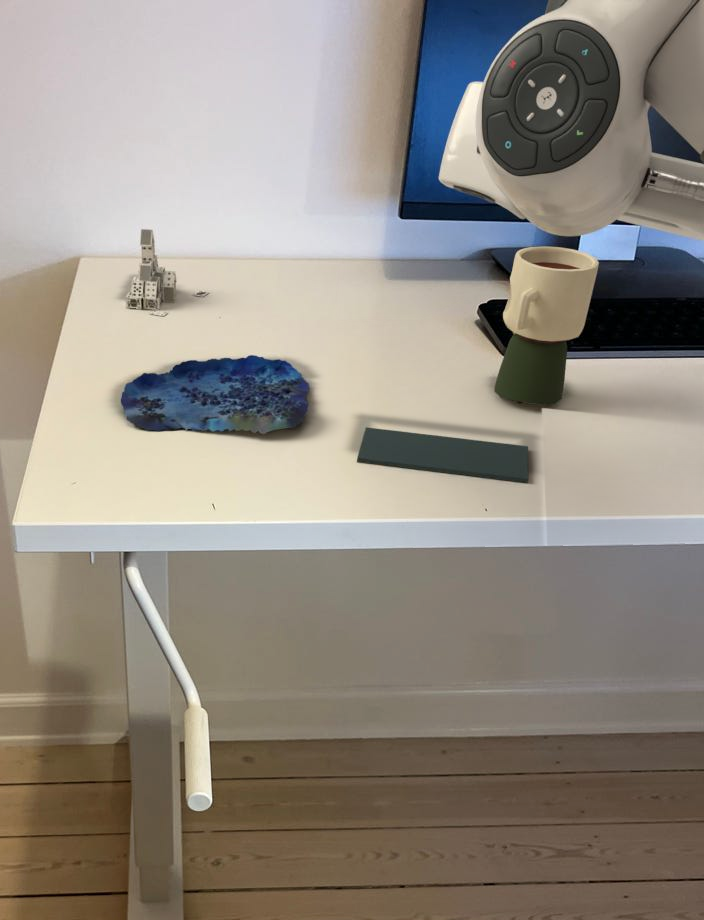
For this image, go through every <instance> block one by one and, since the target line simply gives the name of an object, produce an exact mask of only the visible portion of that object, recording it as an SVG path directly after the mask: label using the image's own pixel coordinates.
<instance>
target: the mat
mask: <svg viewBox="0 0 704 920" xmlns="http://www.w3.org/2000/svg"><path fill="white" fill-rule="evenodd" d="M356 463H363V464H372V465H380V466H389V467H395V468H403V469H410V470H411V469H412V470H418V471H419V470H420V471H428V472H437V473H444V474H453V475H460V476H461V475H462V476H470V477H475V478H476V477H478V478H486V479H492V480H493V479H494V480H501V481H509V482H518V483H525V484H528V482H529V446H528V445H521V444H520V445H519V444H512V443H505V442H504V443H503V442H495V441H487V440H480V439H479V440H477V439H471V438H470V439H469V438H460V437H453V436H444V435H435V434H427V433H418V432H410V431H401V430H392V429H385V428H375V427H368V426H367V427H365V429H364V432H363V436H362V440H361V442H360V447H359V450H358V454H357V458H356Z"/></svg>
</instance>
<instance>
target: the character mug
mask: <svg viewBox="0 0 704 920" xmlns="http://www.w3.org/2000/svg"><path fill="white" fill-rule="evenodd" d="M513 259H514V260H513V265H512V271H511V274H510V276H509V283H510V286H509V287H510V290H509V293H508V299H507V302H506V305H505V308H504V310H503V312H502V318H503V322H504V324H505V326H506V328H507V329H508V330H510V331H511V332H512V334H513V335H512V337H511V338H510V339H509V341H508V344H507V347H506V349H505V353H504V355H503V358H502V361H501V364H500V367H499V370H498V373H497V377H496V379H495V383H494V384H495V385H494V393H495V394H496V395H497V396H498V397H499V398H501V399H506V400H510V401H515V402H517V403H518V404H523V403H524V404H529V405H530V404H532V405H539V406H546V405H556V404H557V403H558V402H560V401H561V400H562V399H563V393H564V388H565V387H564V386H565V381H566V380H565V378H566V370H567V368H566V367H567V356H568V343H567V341H570V340H573V339H576V338H579V336H580V335H581V333H582V332H583V330H584V327H585V324H586V320H587V316H588V312H589V308H590V303H591V299H592V296H593V290H594V286H595V283H596V278H597V274H598V270H599V264H600V262H599V261H598V259H597V258H596V257H595V256H593V255H592V254H589V253H587V252H584V251H580V250H577V249H573V248H567V247H561V246H560V247H559V246H544V245H543V246H529V247H525V248H522V249H519V250H518V251H516V253H515V255H514V258H513Z"/></svg>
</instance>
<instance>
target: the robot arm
mask: <svg viewBox="0 0 704 920" xmlns="http://www.w3.org/2000/svg"><path fill="white" fill-rule="evenodd" d="M650 107H652V108H653V109H654V110H655V111H656V112H657V113H658V114H659V115H660V116H661V117H662V118H663V119H664V120H665V121H666V122H667V123H668V124H669V125H670V127H672V128H673V129H674V130H675V131H676V132H677V133H678V134H679V135H680V136H681V137H682V139H684V140H685V141H686V142H687V143H688V144H689V145H690V146H691V147H692V148H693V149H694V150H695V151H696V152H697V153H698V154H699V159H700V161H701V162H702V163H701V162H697V161H692V160H687V159H683V158H679V157H674V156H670V155H665V154H661V153H656V152H653V151H652V150H653V148H652V147H653V146H652V138H651V132H650V125H649V118H648V113H649V109H650ZM438 180H439V182H440V183H441V184H443V185H444V186H445V187H447V188H450V189H453V190H455V191H457V192H460V193H464V194H466V195H470V196H473V197H476V198H479V199H482V200H484V201H487V202H489V203H492V204H497V205H499V206H501V207H502V208H504V209H506V210H508V211H509V212H510V213H512V214H513V215H514V216H516V217H518V218H519V219H521V220H525V219H526V220H527V221H529V222H530V223H531V224H532V225H533V226H535V227H536V228H538V229H539V230H541V231H544V232H546V233H548V234H551V235H555V236H561V237H580V236H585V235H588V234H592V233H595V232H598V231H600V230H602V229H604V228H606V227H608V226H609V225H611V224H613V223H614V222H615V221H616V220H617V221H620V222H624V223H628V224H632V225H637V226H641V227H645V228H649V229H653V230H657V231H660V232H665V233H668V234H669V233H670V234H673V235H677V236H681V237H685V238H689V239H692V240H697V241H702V242H704V0H548V1H547V4H546V8H545V12H544V14H543V15H540V16H539V17H537V18H535V19H534V20H532V21H530V22H529V23H527V24H526V25H525V26H523V27H522V28H521V29H519V30H518V31H517V32H516V33H514V35H513V36H512V37H510V39H509V40H508V42H506V44H505V45H504V46H503V47H501V50H500V51H499V52H498V53H497V55H496V56H495V58H494V60H493V61H492V63H491V64H490V66H489V69H488V70H487V72H486V75H485V77H484V80H483V81H471V82H469V84H467V86H466V88H465V91H464V93H463V96H462V98H461V100H460V103H459V105H458V107H457V110H456V113H455V116H454V118H453V121H452V124H451V127H450V130H449V132H448V136H447V140H446V143H445V146H444V151H443V153H442V159H441V163H440V168H439V174H438Z"/></svg>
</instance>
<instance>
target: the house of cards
mask: <svg viewBox="0 0 704 920" xmlns="http://www.w3.org/2000/svg"><path fill="white" fill-rule="evenodd" d="M139 241H140V242H139V247H140V248H141V260H140V262H139V264H138V266H139V268H138V269H139V270H138V271H137V273H138V275H134V276H133V278H132V280H131V285H130V290H129V291H128V292H127V294H126V296H125V308H126V309H130V308H136V309H135V310H141V309H143V311H144V310H152V311H151V312H149V315H152V316H153V315H154V316H160V317H164V316H166V315H167V314H168V313H169V312H168V311H161V310H160V304H161V303H162V301H163V302H164V303H175V299H176V298H177V275H176V271H175V270H174V271H173V270H166V268H165V266H159V261H158V254H156V253H155V252H156V250H155V248H156V247H155V246H156V245H155V243H156V241H155V236H154V230H153V229H149V228H140V240H139ZM209 293H210V292H209V291H205V290H198V291H196V292H195V293H193V294H192V296H197V297H200V298H201V297H202V298H203V297H204V296H206V295H207V294H209ZM152 313H154V314H152Z"/></svg>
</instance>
